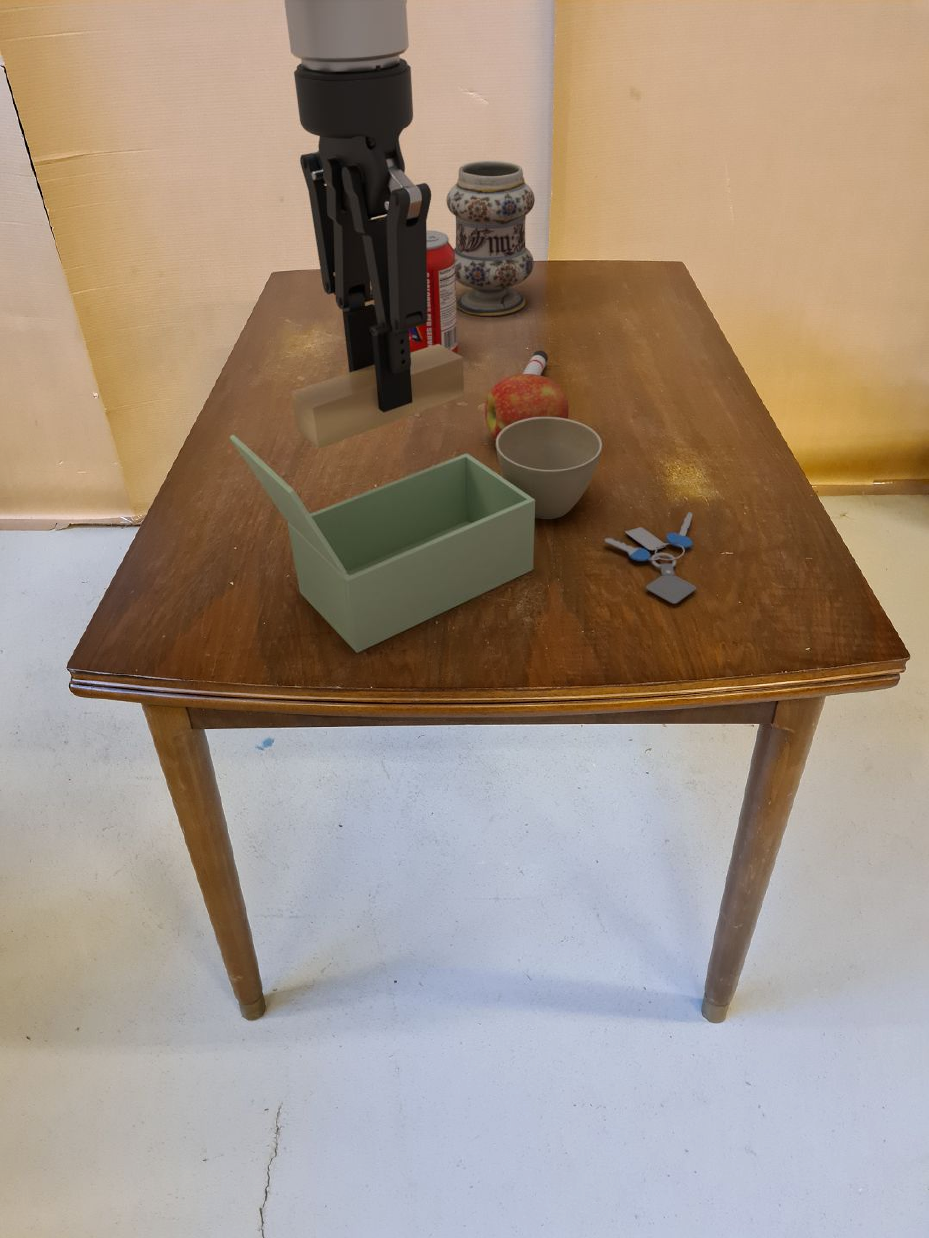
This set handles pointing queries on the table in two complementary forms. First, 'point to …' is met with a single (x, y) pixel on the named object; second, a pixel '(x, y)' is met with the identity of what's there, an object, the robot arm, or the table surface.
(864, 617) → the table surface
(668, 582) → the key chain
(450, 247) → the soda can
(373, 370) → the birch block
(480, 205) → the apothecary jar
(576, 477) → the flower pot
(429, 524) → the carton
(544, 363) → the marker
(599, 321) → the table surface
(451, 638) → the table surface
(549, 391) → the apple
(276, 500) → the flap
